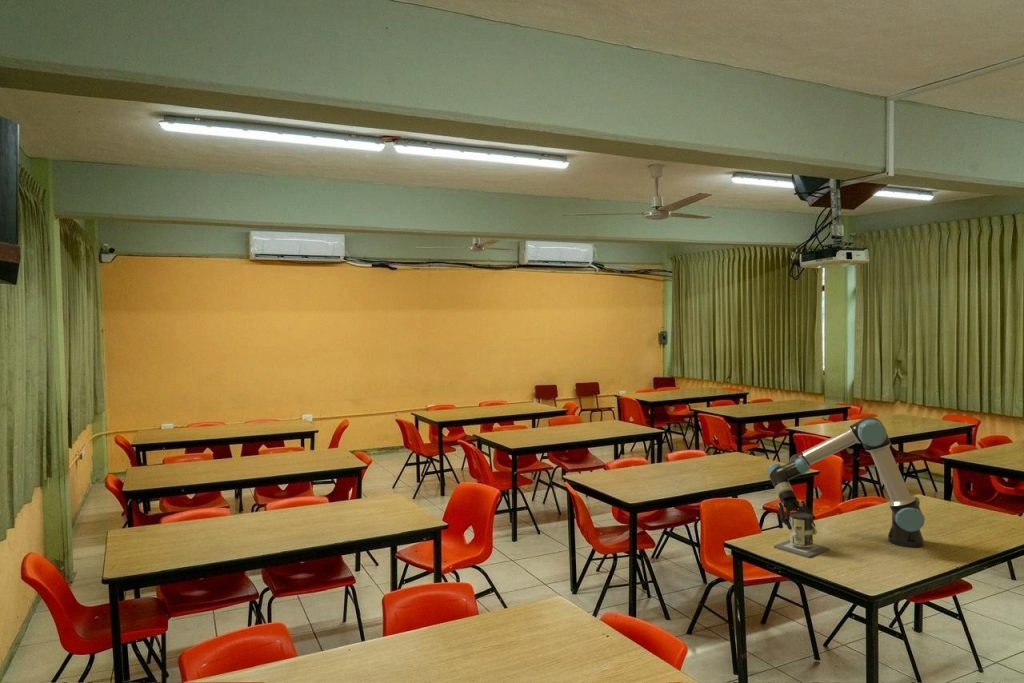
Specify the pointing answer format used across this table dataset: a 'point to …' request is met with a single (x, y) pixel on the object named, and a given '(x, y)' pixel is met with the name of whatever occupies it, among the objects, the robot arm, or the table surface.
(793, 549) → the mat
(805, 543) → the coffee can
